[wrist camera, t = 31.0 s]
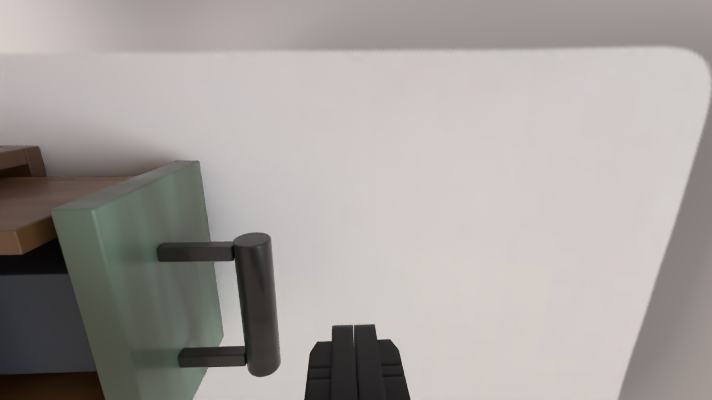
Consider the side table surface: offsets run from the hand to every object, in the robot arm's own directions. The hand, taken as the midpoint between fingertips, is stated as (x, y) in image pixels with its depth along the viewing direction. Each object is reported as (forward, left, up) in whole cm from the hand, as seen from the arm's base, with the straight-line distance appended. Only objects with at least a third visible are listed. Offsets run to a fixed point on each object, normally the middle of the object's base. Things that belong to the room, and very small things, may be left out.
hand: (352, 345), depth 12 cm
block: (+9, -8, -6) cm, 13 cm away
